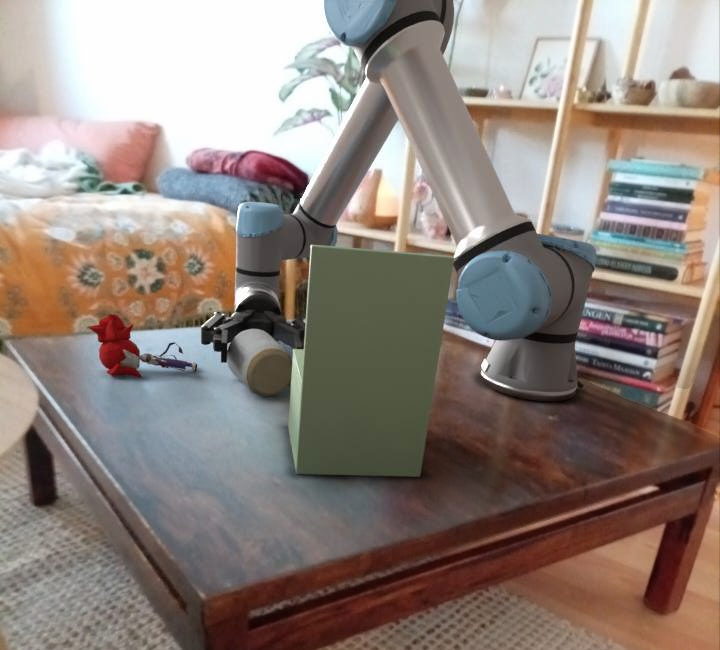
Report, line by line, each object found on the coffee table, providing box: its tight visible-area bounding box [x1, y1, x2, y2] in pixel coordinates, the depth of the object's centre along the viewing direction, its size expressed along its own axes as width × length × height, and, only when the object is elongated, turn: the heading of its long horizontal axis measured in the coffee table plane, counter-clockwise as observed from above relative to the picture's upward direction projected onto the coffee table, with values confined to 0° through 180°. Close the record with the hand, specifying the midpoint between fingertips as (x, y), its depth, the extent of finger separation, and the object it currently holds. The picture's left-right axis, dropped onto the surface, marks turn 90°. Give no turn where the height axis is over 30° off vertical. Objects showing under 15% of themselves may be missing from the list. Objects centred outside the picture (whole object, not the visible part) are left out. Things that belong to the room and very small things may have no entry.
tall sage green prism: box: [287, 245, 454, 478], centre depth 78 cm, size 14×13×24 cm
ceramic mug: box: [227, 329, 293, 397], centre depth 98 cm, size 11×8×8 cm
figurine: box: [88, 313, 198, 379], centre depth 99 cm, size 6×8×15 cm
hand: (261, 354), depth 94 cm, fingers open, 9 cm apart
